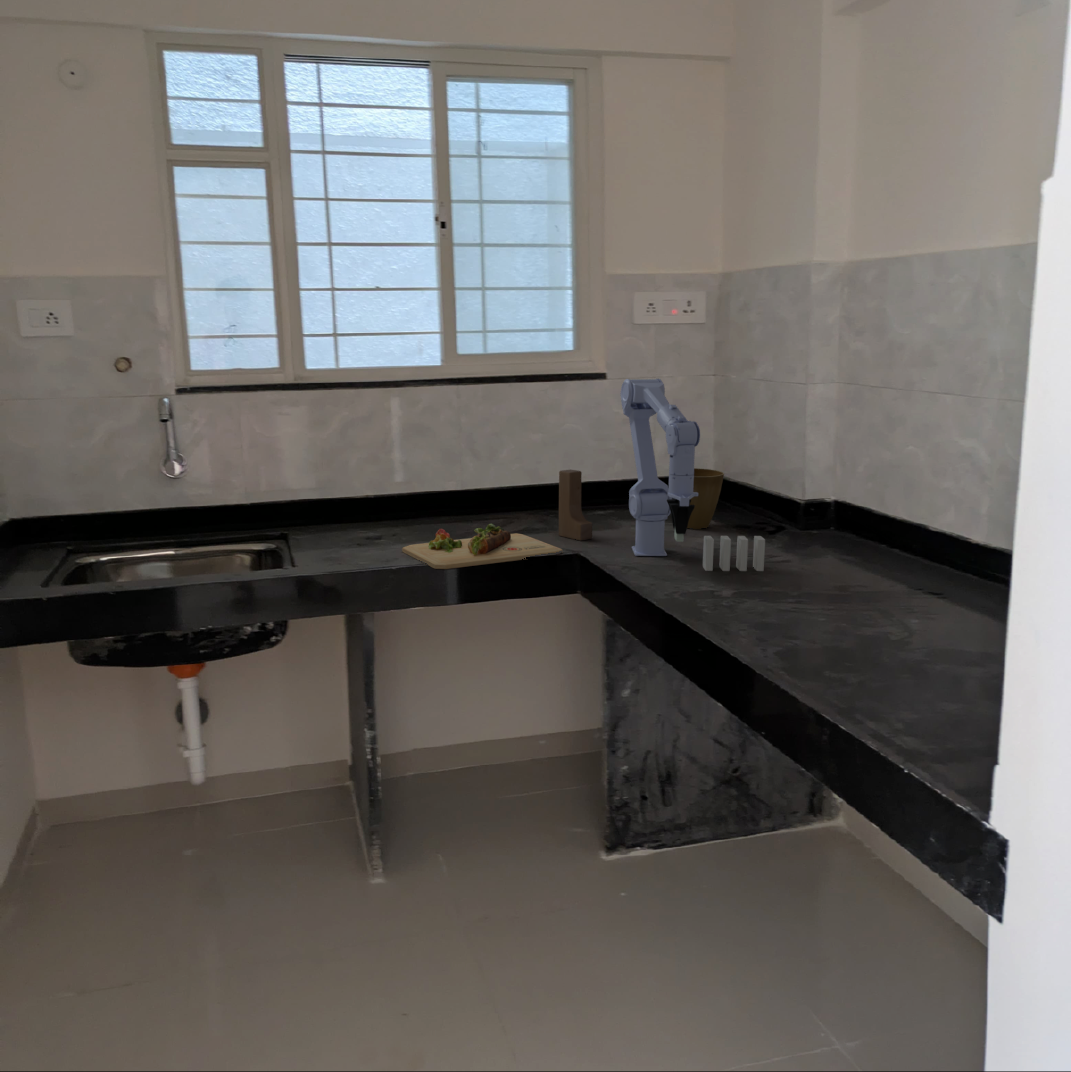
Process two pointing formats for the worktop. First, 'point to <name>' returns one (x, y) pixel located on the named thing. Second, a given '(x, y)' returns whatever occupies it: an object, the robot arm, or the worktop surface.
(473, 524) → the worktop surface
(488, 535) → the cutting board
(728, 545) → the domino
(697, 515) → the plant pot
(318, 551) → the worktop surface
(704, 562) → the domino
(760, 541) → the domino
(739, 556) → the domino
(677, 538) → the domino
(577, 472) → the wooden block
